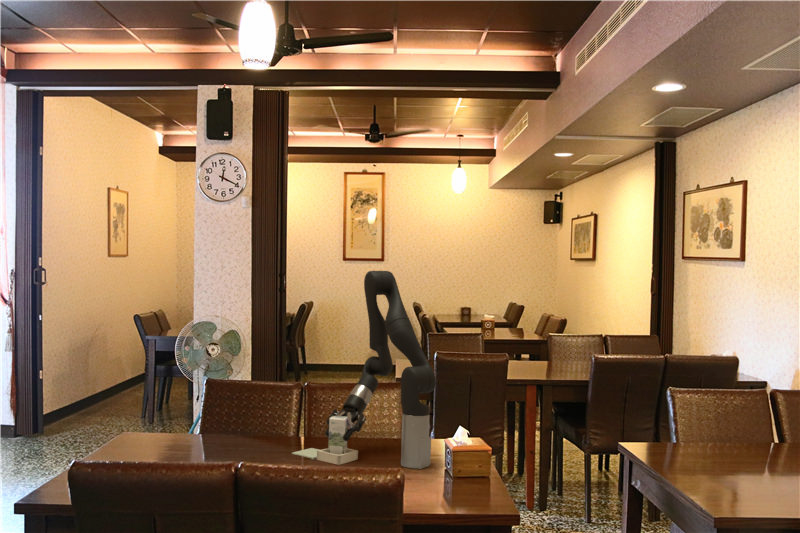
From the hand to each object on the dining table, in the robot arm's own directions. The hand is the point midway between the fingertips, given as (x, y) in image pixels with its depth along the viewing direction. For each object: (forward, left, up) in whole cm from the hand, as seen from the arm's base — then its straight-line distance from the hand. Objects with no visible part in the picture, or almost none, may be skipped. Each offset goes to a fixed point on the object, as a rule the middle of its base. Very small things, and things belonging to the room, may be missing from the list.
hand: (335, 437), depth 211 cm
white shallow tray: (+6, -1, -8) cm, 10 cm away
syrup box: (0, -1, -8) cm, 8 cm away
